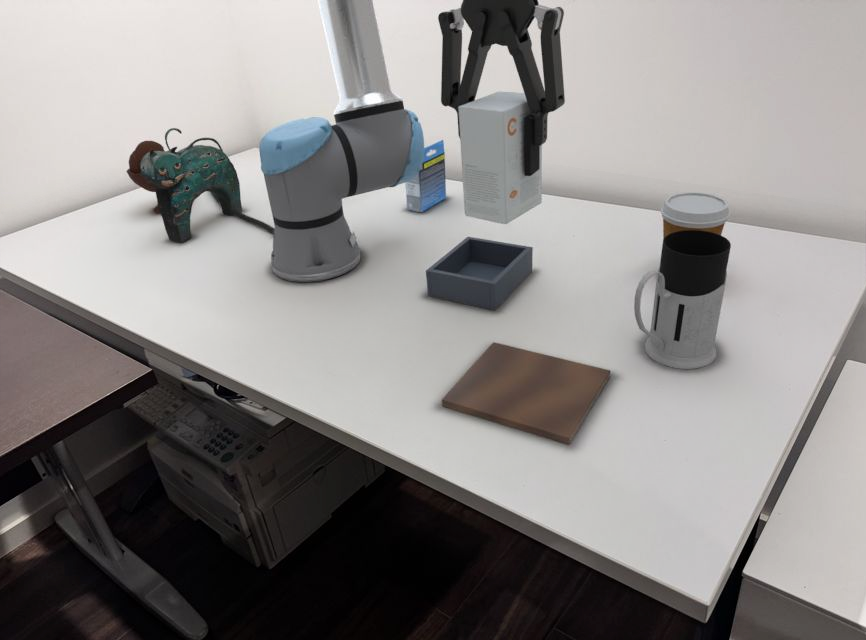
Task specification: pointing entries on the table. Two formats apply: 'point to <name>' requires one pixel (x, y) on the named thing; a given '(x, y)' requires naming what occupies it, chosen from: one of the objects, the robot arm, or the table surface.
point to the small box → (497, 158)
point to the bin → (480, 272)
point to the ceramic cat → (190, 182)
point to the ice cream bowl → (135, 165)
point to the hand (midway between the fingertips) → (502, 169)
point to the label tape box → (428, 180)
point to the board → (528, 391)
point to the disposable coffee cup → (694, 213)
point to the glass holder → (686, 299)
